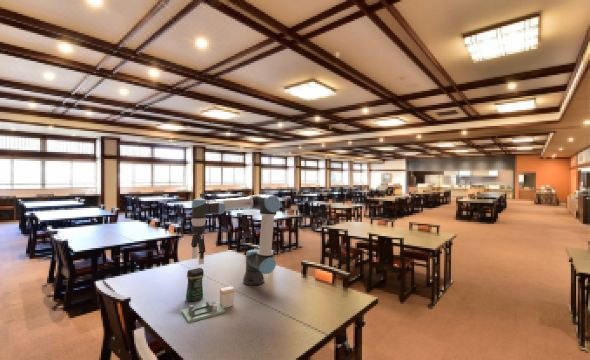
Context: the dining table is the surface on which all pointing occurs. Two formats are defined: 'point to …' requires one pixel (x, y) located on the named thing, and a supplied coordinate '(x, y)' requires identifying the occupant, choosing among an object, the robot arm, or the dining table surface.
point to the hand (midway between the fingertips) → (197, 261)
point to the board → (216, 310)
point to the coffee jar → (195, 284)
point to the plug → (227, 296)
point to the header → (208, 306)
